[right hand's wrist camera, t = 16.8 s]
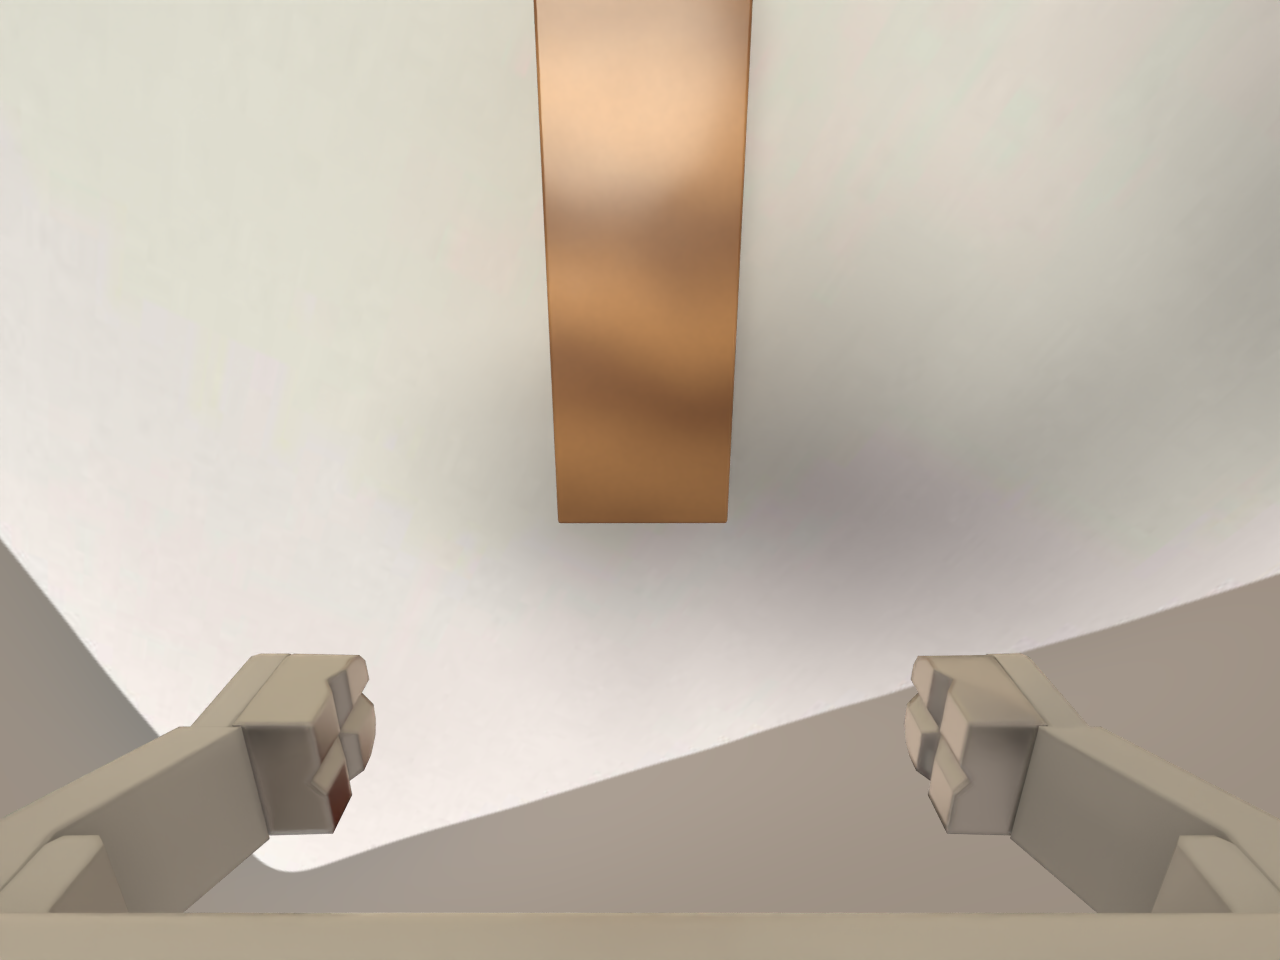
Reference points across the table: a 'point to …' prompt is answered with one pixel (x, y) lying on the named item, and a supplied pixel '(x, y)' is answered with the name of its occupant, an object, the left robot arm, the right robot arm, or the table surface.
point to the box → (642, 250)
